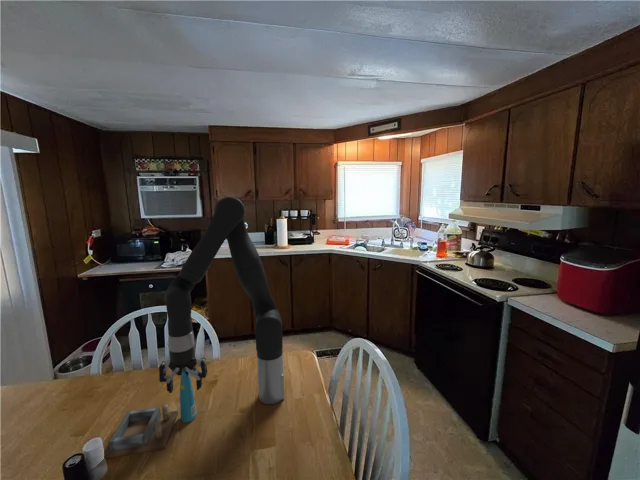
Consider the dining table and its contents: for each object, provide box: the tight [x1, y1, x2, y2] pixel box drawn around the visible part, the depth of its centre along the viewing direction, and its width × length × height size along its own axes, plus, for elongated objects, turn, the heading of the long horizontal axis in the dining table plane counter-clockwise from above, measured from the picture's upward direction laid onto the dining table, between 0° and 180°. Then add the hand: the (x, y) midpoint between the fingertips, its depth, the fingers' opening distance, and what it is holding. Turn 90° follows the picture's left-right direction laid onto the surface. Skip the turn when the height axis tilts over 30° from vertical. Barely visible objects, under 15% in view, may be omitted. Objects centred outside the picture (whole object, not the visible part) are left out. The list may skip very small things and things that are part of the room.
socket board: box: [104, 403, 179, 459], centre depth 92 cm, size 16×14×6 cm
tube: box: [179, 368, 198, 423], centre depth 97 cm, size 7×5×19 cm, turn 23°
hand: (185, 389), depth 97 cm, fingers open, 8 cm apart
